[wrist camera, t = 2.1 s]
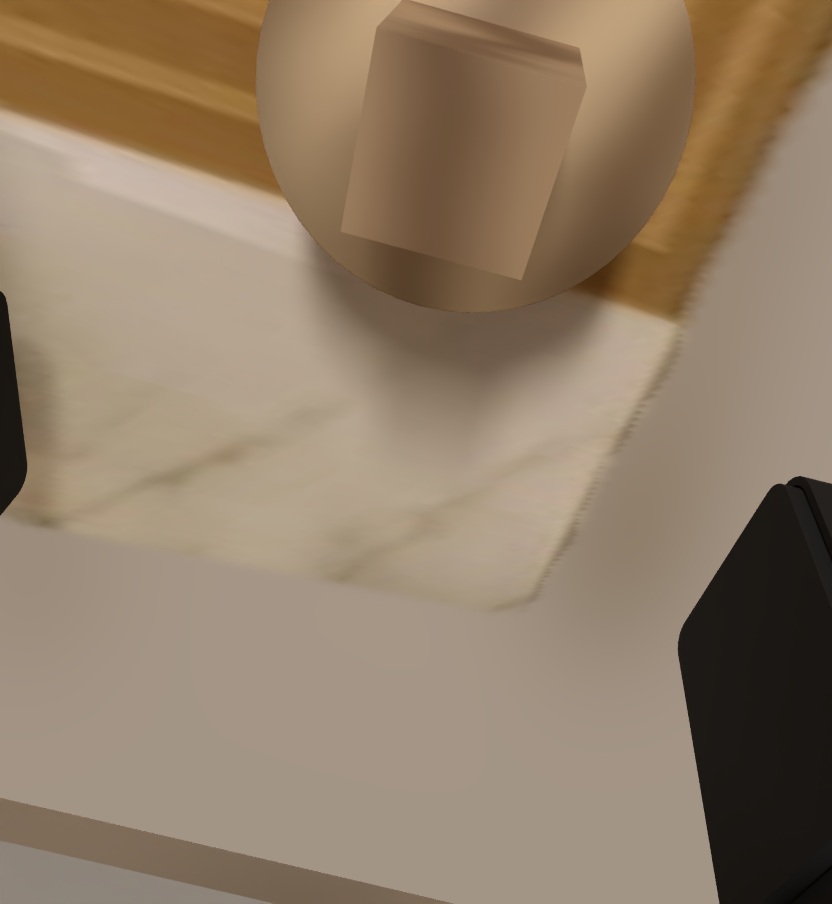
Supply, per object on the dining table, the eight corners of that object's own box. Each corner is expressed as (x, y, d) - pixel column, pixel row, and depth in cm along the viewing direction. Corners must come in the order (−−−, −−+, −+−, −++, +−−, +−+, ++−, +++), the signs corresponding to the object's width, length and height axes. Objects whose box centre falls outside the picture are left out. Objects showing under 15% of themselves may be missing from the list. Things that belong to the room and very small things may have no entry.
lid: (774, -80, 23) (837, -62, 18) (596, 340, 31) (606, 428, 26) (292, -220, 22) (223, -239, 17) (245, 246, 31) (191, 319, 26)
